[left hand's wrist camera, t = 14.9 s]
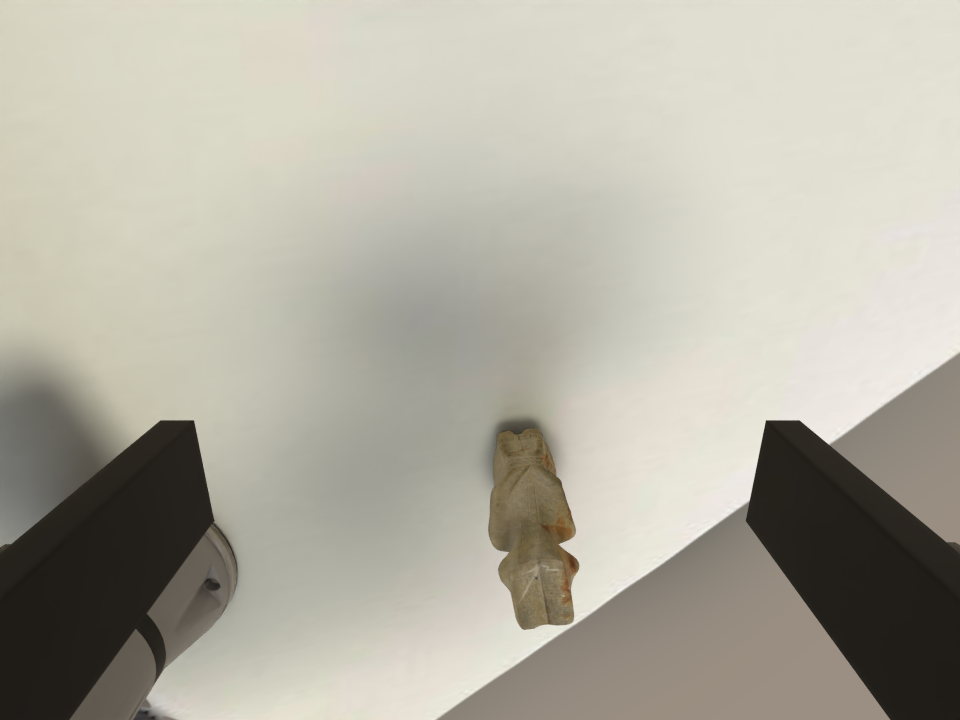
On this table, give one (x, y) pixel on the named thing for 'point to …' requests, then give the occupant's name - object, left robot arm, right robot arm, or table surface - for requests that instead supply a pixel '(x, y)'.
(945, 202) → the table surface
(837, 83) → the table surface
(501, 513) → the sculpture
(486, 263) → the table surface
